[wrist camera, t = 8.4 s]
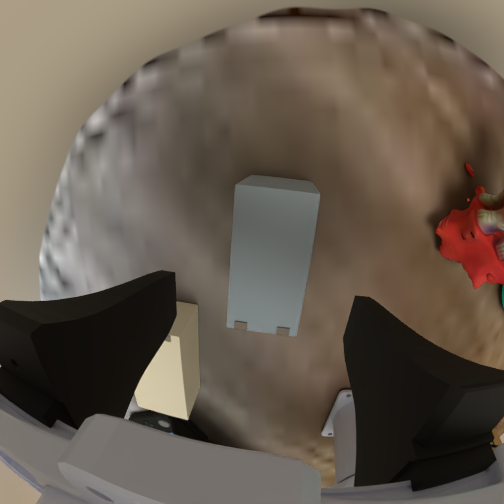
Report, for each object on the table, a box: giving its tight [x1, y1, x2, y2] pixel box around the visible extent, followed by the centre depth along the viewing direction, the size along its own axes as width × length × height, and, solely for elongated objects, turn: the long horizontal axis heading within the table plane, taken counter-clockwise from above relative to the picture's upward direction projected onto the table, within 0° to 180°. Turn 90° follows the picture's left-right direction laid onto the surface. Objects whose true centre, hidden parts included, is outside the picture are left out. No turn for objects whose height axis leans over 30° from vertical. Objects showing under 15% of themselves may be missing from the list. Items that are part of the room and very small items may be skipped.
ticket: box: [134, 301, 200, 420], centre depth 23 cm, size 5×10×5 cm, turn 176°
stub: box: [227, 175, 320, 337], centre depth 17 cm, size 4×8×6 cm, turn 176°
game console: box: [129, 411, 213, 444], centre depth 27 cm, size 16×14×9 cm
